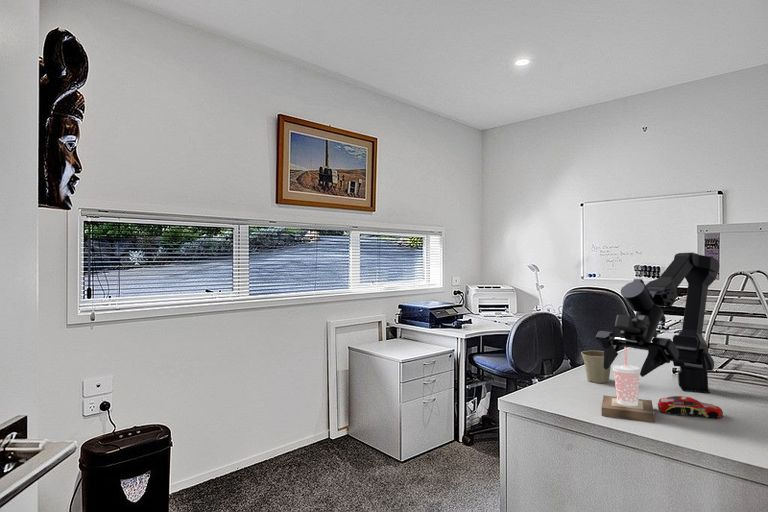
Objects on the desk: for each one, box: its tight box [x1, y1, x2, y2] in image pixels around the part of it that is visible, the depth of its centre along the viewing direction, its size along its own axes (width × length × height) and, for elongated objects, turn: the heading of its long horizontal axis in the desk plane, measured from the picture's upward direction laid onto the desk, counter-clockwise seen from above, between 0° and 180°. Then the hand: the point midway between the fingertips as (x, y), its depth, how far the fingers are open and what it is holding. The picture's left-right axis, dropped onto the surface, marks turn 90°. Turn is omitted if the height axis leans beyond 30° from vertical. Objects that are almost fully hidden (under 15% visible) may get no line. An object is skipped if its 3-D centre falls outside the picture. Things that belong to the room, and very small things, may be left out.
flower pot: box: [580, 350, 612, 384], centre depth 140 cm, size 9×9×9 cm
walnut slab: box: [601, 395, 655, 423], centre depth 111 cm, size 11×11×2 cm
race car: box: [657, 395, 724, 420], centre depth 109 cm, size 13×5×4 cm, turn 64°
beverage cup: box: [611, 347, 641, 406], centre depth 111 cm, size 6×6×14 cm
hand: (622, 372), depth 111 cm, fingers open, 9 cm apart
